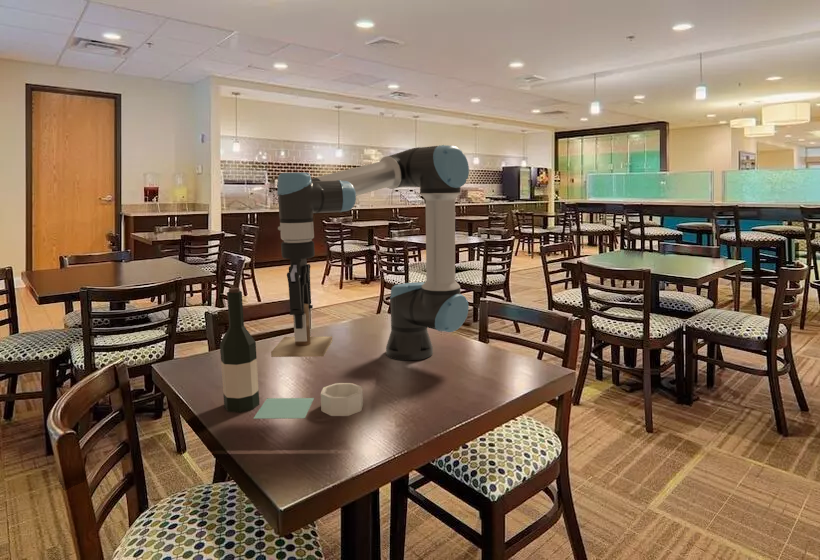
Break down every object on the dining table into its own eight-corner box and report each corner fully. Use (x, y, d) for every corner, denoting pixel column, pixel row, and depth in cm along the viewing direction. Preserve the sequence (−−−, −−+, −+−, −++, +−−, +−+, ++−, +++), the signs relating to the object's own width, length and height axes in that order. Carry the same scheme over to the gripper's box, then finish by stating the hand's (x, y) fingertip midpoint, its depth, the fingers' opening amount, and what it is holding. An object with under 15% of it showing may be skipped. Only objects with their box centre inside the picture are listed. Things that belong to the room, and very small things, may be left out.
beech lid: (332, 341, 134) (330, 299, 132) (323, 356, 122) (321, 310, 120) (284, 341, 135) (282, 299, 133) (271, 356, 123) (268, 311, 121)
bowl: (363, 401, 136) (363, 382, 135) (360, 418, 126) (359, 397, 125) (325, 402, 136) (325, 383, 135) (319, 418, 126) (318, 398, 125)
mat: (314, 400, 137) (314, 397, 137) (304, 420, 125) (304, 418, 125) (267, 400, 137) (267, 398, 137) (253, 420, 125) (253, 418, 125)
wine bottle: (244, 398, 138) (237, 284, 133) (266, 405, 134) (259, 287, 128) (217, 409, 131) (208, 289, 126) (239, 417, 127) (230, 293, 122)
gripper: (290, 237, 132) (295, 329, 136) (271, 245, 116) (277, 349, 120) (320, 236, 132) (325, 328, 136) (305, 244, 115) (311, 349, 120)
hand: (302, 338), depth 128 cm, fingers closed on beech lid, 4 cm apart
